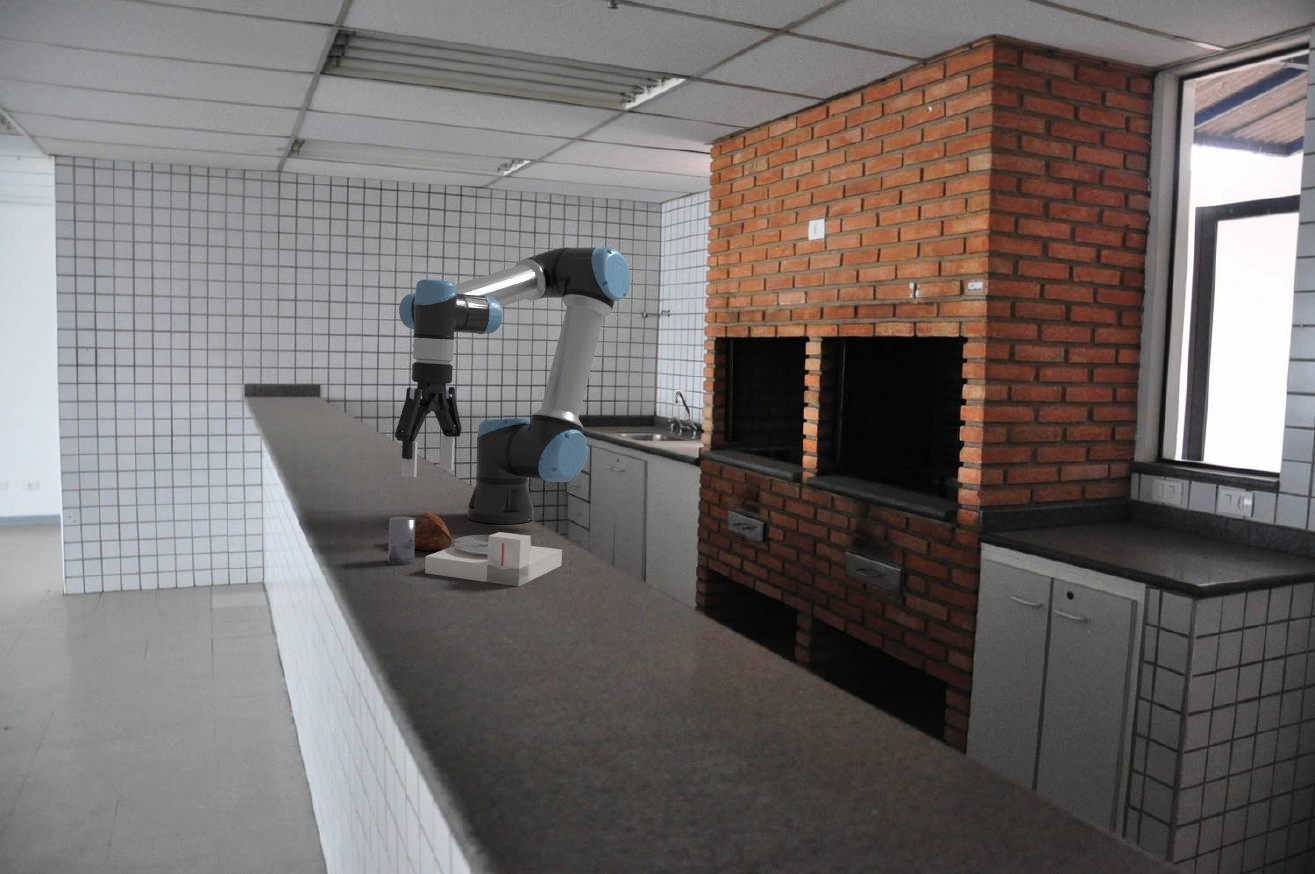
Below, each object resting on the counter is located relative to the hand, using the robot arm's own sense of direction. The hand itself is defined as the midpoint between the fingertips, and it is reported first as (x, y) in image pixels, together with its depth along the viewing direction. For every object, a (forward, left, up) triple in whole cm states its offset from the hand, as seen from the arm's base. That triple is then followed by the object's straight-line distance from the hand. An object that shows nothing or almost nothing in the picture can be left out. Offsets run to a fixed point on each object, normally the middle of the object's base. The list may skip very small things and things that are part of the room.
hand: (428, 472), depth 193 cm
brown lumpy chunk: (0, 0, -15) cm, 15 cm away
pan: (+6, +18, -12) cm, 22 cm away
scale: (+8, +19, -15) cm, 25 cm away
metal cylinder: (+12, +2, -15) cm, 19 cm away
